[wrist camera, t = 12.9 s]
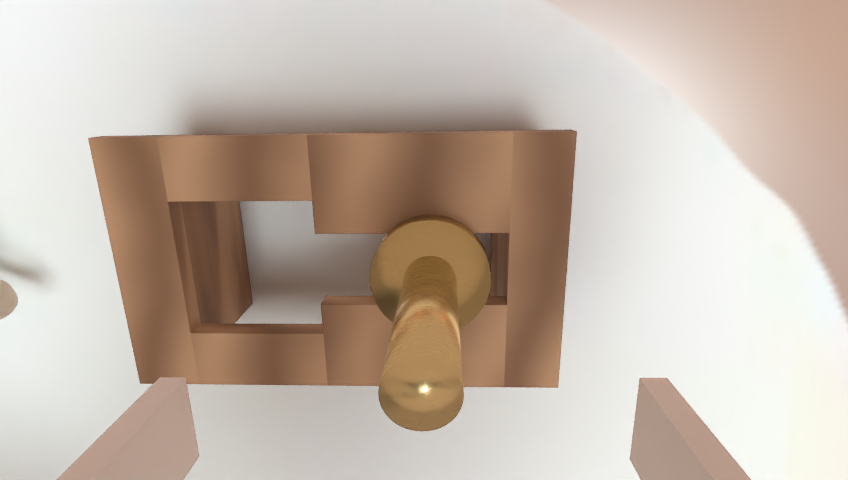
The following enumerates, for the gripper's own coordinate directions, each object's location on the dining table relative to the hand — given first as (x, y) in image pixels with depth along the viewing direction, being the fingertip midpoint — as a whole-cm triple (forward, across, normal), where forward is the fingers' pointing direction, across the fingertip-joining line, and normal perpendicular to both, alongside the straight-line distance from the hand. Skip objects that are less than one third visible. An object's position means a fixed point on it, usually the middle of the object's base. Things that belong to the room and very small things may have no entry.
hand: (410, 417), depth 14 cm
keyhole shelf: (+21, -4, 0) cm, 21 cm away
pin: (+17, 0, 0) cm, 17 cm away
